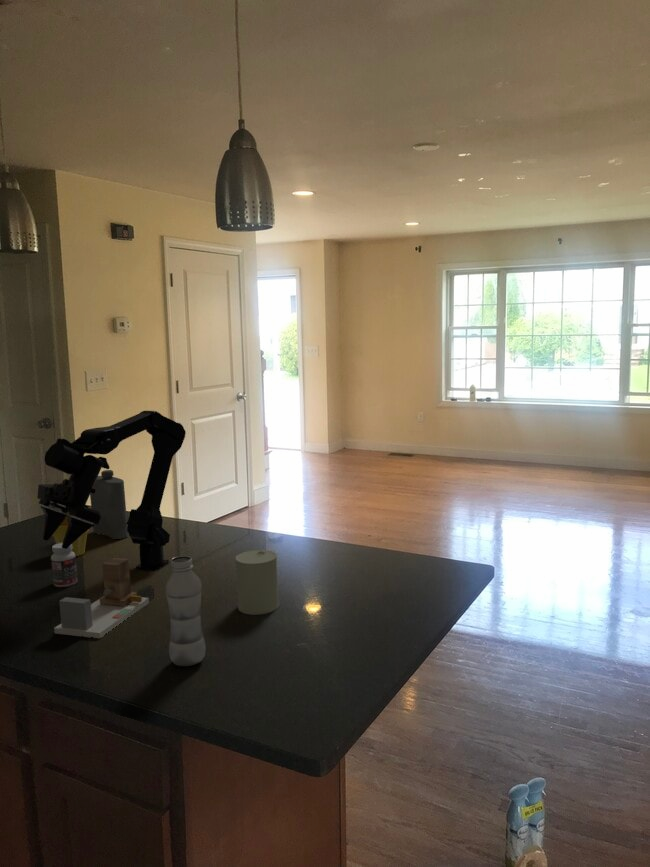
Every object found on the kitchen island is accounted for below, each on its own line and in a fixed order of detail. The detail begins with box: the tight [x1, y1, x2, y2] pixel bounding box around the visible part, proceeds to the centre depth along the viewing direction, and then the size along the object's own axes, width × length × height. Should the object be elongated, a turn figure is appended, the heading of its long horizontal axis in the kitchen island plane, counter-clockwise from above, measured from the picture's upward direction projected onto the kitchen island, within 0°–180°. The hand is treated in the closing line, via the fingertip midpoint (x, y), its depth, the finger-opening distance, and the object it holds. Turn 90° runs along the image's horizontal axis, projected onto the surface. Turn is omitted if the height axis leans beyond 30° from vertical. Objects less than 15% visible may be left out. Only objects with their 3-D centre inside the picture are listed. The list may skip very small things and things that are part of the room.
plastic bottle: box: [164, 555, 207, 667], centre depth 125 cm, size 6×7×20 cm
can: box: [234, 549, 280, 616], centre depth 150 cm, size 9×9×12 cm
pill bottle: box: [50, 543, 78, 588], centre depth 168 cm, size 6×6×10 cm
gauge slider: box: [99, 557, 142, 606], centre depth 151 cm, size 7×9×9 cm
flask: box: [89, 469, 129, 540], centre depth 208 cm, size 15×6×20 cm, turn 49°
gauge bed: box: [53, 596, 150, 639], centre depth 147 cm, size 18×11×7 cm, turn 163°
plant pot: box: [51, 515, 90, 558], centre depth 191 cm, size 10×10×10 cm
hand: (54, 544), depth 155 cm, fingers open, 9 cm apart
